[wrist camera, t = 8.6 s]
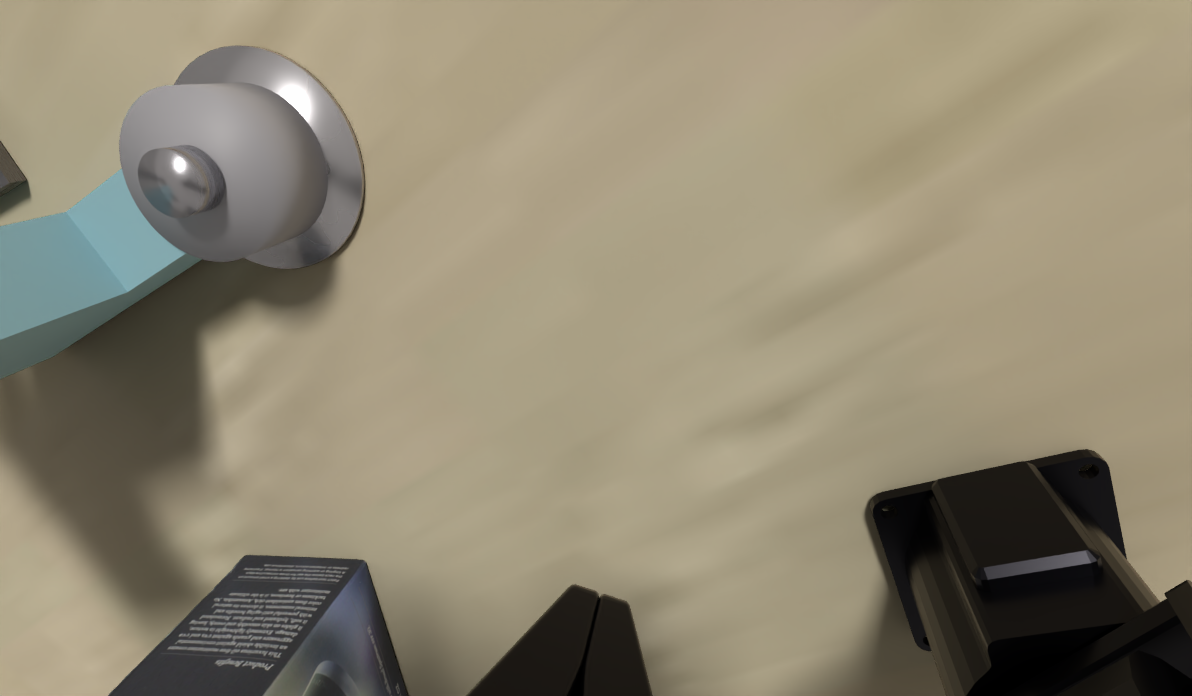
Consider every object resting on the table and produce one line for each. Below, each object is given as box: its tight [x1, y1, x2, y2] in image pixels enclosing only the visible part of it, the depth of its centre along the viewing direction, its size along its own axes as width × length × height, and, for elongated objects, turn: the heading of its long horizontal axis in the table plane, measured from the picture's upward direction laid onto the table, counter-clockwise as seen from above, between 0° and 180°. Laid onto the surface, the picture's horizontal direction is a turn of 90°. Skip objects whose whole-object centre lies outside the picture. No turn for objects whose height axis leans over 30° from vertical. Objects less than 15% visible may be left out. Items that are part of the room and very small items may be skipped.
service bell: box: [138, 46, 365, 269], centre depth 19 cm, size 7×7×4 cm
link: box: [0, 83, 328, 379], centre depth 18 cm, size 15×5×8 cm, turn 119°
